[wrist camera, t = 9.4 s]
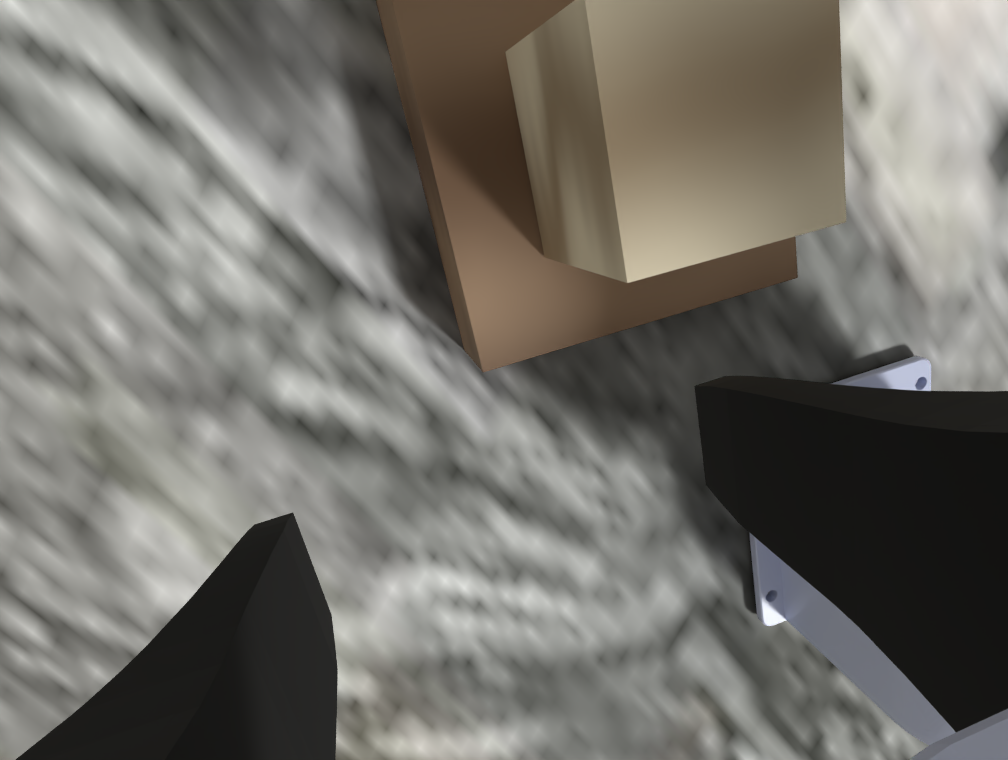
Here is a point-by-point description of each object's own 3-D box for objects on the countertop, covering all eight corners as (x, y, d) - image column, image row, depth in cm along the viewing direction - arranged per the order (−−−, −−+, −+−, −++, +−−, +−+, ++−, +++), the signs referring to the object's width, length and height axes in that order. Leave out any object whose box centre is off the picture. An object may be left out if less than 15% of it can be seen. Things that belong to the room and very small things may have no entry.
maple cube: (711, 213, 18) (846, 222, 13) (544, 257, 17) (627, 283, 12) (691, 15, 16) (836, -54, 12) (505, 52, 15) (584, -7, 11)
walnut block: (738, 265, 22) (797, 277, 19) (461, 346, 20) (483, 372, 18) (707, -71, 19) (774, -114, 16) (370, -9, 17) (380, -45, 14)
